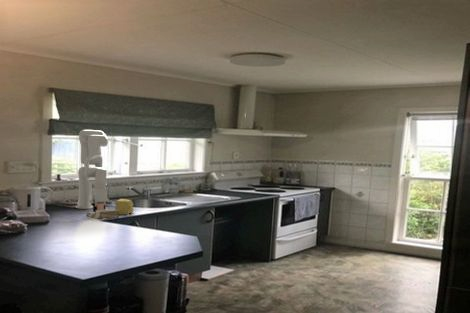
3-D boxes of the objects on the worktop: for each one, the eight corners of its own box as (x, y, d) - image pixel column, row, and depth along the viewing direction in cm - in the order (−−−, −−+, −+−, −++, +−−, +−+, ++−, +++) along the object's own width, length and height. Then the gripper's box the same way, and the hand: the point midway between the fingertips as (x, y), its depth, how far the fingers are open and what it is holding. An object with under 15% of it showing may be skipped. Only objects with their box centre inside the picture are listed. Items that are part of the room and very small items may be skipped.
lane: (87, 215, 317) (87, 208, 317) (105, 213, 328) (105, 207, 328) (100, 219, 307) (100, 212, 307) (119, 217, 318) (119, 210, 318)
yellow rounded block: (133, 213, 340) (133, 199, 339) (128, 215, 329) (129, 201, 329) (119, 212, 341) (120, 198, 340) (114, 214, 330) (115, 200, 330)
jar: (92, 213, 320) (93, 202, 320) (100, 212, 325) (100, 201, 325) (97, 214, 317) (98, 203, 316) (105, 213, 321) (105, 202, 321)
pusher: (95, 216, 314) (95, 210, 314) (108, 215, 322) (109, 208, 322) (96, 216, 313) (96, 210, 313) (109, 215, 322) (110, 209, 322)
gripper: (107, 184, 329) (106, 209, 330) (86, 185, 316) (85, 211, 316) (113, 186, 324) (112, 211, 325) (92, 187, 311) (91, 213, 312)
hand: (99, 211), depth 321 cm, fingers closed on jar, 6 cm apart
